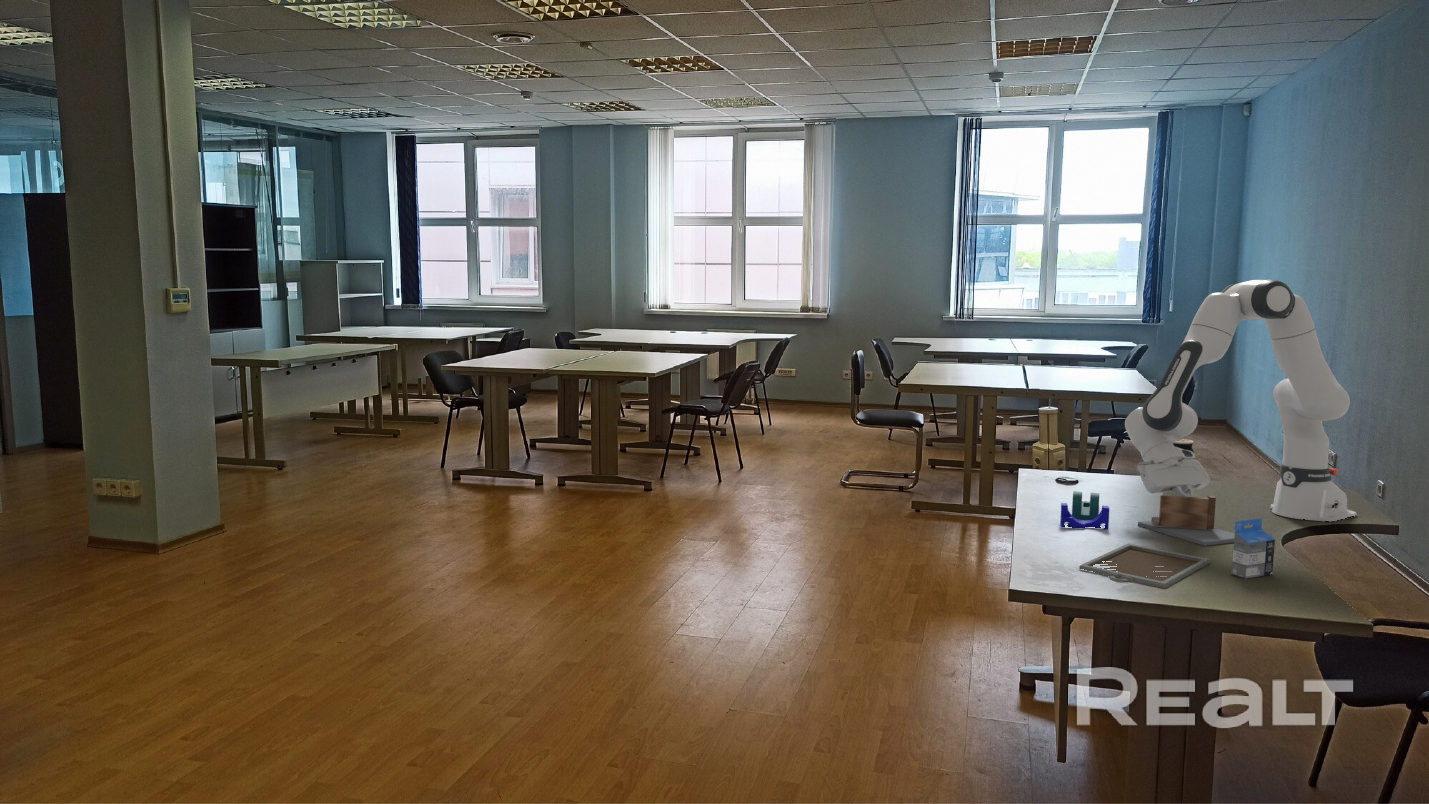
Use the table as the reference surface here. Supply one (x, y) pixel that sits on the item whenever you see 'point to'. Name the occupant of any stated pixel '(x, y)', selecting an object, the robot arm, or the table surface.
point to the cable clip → (1077, 523)
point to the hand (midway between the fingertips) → (1190, 502)
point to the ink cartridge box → (1252, 550)
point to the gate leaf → (1186, 512)
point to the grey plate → (1193, 534)
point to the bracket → (1085, 506)
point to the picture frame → (1146, 565)
